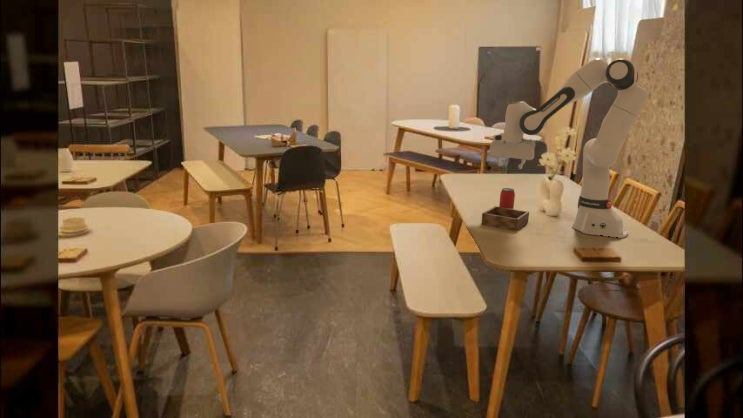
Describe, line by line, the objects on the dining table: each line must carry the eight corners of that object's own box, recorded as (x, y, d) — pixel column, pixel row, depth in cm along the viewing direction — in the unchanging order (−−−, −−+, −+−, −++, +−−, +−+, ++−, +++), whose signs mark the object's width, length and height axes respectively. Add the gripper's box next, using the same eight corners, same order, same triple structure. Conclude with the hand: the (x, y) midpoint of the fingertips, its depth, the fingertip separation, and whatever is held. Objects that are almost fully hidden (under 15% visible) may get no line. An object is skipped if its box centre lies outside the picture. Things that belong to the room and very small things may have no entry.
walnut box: (528, 222, 256) (529, 211, 255) (517, 230, 242) (518, 219, 241) (493, 216, 264) (494, 206, 262) (481, 224, 250) (482, 213, 249)
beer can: (513, 216, 265) (515, 191, 262) (498, 215, 266) (501, 190, 263) (512, 213, 271) (515, 188, 268) (498, 211, 273) (500, 187, 270)
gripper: (537, 139, 257) (534, 169, 261) (494, 134, 267) (491, 163, 271) (533, 140, 252) (530, 171, 255) (489, 135, 262) (486, 165, 266)
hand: (510, 167), depth 263 cm, fingers open, 8 cm apart
